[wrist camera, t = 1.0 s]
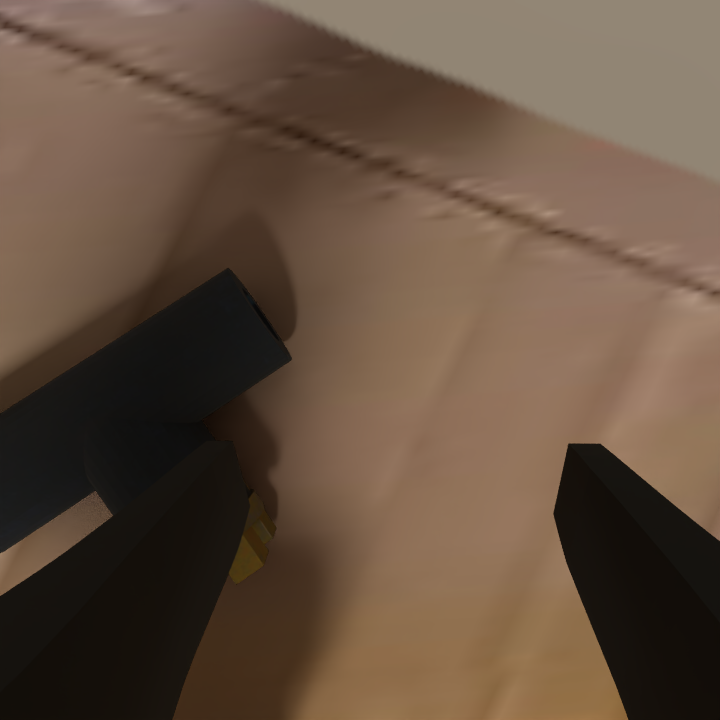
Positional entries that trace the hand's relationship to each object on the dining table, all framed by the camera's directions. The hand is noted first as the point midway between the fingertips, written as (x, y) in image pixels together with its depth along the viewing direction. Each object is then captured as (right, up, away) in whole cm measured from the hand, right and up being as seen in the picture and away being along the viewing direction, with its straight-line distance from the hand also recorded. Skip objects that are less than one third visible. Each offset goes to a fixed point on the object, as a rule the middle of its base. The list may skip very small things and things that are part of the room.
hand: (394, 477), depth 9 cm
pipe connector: (-10, -2, +12) cm, 16 cm away
